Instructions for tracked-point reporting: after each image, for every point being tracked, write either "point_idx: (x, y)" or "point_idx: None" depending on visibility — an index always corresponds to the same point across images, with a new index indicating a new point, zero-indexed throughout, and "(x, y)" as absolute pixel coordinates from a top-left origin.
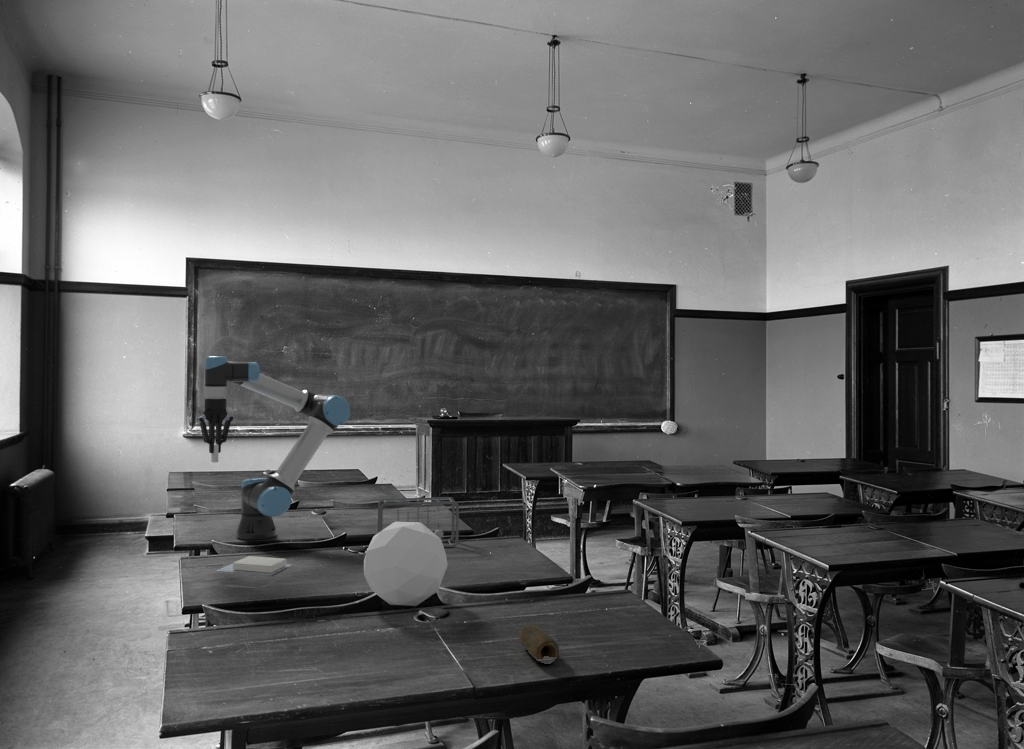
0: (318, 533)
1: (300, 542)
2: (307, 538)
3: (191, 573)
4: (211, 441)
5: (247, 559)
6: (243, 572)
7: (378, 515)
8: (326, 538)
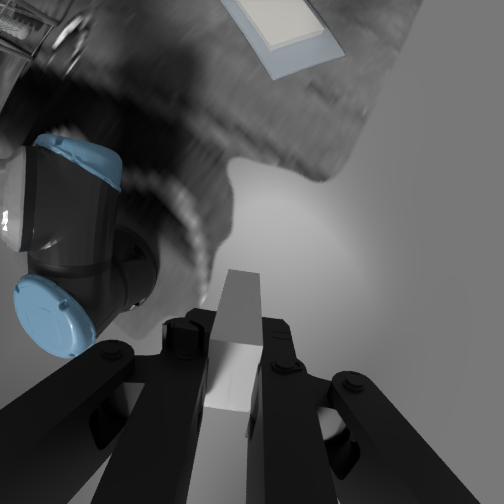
0: None
1: None
2: None
3: (379, 81)
4: (307, 380)
5: (289, 28)
6: (314, 14)
7: (5, 46)
8: None
